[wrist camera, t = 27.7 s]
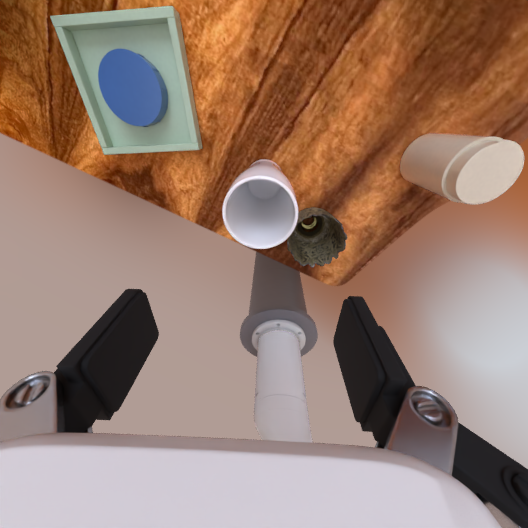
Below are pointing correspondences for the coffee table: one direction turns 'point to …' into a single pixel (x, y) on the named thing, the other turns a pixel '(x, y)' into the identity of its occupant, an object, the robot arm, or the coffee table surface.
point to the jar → (462, 166)
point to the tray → (153, 49)
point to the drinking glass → (260, 206)
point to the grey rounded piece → (316, 238)
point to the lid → (132, 88)
